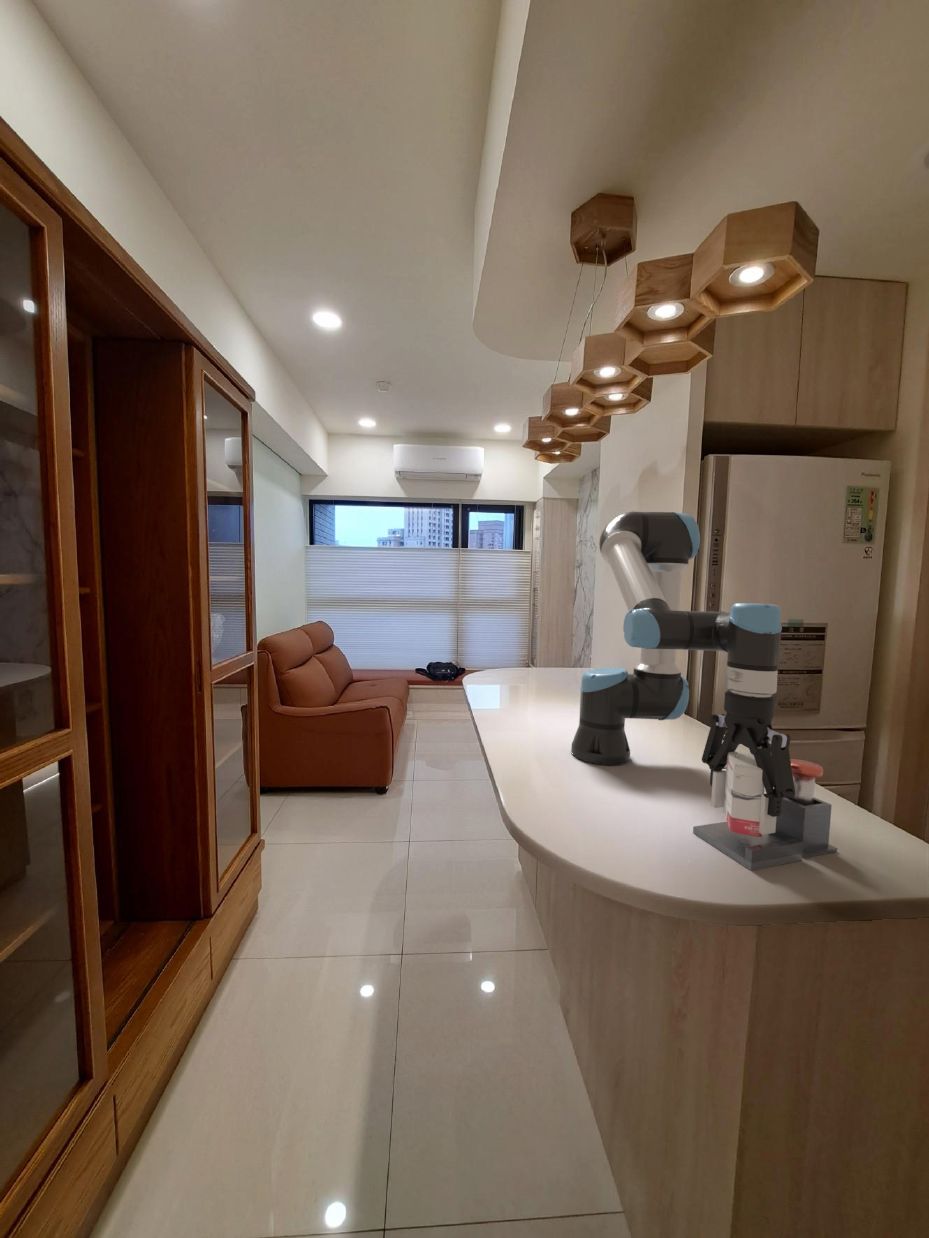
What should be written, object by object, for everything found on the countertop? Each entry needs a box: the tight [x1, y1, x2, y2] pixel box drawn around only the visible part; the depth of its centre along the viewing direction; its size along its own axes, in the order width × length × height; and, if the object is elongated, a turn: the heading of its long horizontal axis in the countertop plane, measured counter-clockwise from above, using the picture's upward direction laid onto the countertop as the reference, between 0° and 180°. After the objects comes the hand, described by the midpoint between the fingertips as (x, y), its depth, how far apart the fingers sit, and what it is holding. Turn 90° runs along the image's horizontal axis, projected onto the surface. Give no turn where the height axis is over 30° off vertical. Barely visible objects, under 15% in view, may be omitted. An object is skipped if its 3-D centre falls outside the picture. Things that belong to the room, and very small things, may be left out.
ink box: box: [722, 750, 765, 837], centre depth 82 cm, size 9×5×12 cm, turn 158°
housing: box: [767, 797, 838, 859], centre depth 83 cm, size 8×8×8 cm
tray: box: [692, 821, 803, 871], centre depth 82 cm, size 12×11×3 cm
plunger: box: [788, 758, 824, 806], centre depth 83 cm, size 6×6×9 cm
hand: (741, 818), depth 83 cm, fingers closed on ink box, 9 cm apart
